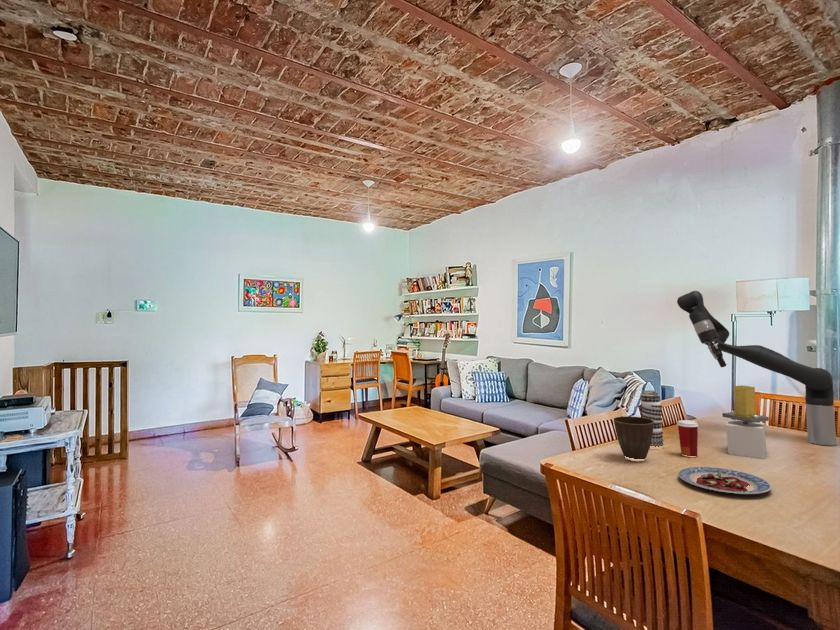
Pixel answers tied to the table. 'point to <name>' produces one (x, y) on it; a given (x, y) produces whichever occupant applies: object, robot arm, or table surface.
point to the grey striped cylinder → (652, 414)
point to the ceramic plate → (724, 480)
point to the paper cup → (688, 437)
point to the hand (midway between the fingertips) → (723, 366)
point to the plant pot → (634, 435)
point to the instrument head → (745, 405)
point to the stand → (746, 438)
